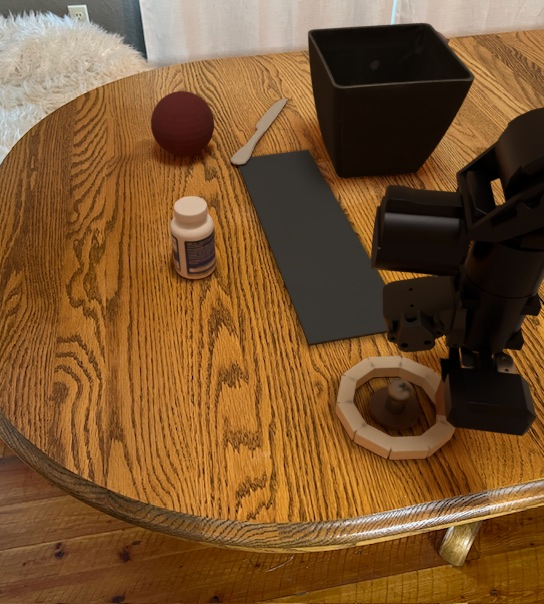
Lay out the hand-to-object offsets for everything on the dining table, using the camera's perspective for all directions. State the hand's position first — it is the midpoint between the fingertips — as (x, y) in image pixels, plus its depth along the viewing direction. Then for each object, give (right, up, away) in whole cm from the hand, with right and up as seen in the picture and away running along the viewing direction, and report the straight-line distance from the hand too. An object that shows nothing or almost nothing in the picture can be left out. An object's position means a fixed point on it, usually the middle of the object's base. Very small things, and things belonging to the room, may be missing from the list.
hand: (453, 391), depth 58 cm
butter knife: (-16, +38, +44) cm, 60 cm away
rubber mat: (-11, +19, +25) cm, 33 cm away
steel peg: (-5, -2, +4) cm, 6 cm away
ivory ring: (-5, -2, +4) cm, 6 cm away
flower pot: (+1, +32, +38) cm, 50 cm away
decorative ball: (-29, +33, +40) cm, 59 cm away
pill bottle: (-26, +13, +20) cm, 36 cm away
